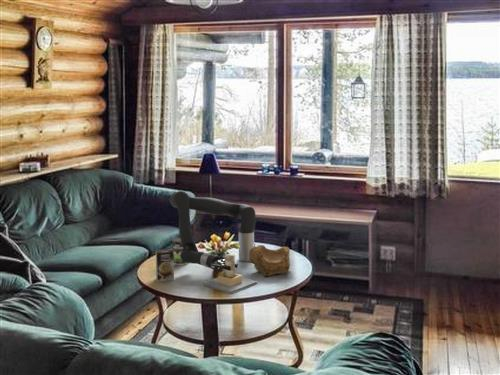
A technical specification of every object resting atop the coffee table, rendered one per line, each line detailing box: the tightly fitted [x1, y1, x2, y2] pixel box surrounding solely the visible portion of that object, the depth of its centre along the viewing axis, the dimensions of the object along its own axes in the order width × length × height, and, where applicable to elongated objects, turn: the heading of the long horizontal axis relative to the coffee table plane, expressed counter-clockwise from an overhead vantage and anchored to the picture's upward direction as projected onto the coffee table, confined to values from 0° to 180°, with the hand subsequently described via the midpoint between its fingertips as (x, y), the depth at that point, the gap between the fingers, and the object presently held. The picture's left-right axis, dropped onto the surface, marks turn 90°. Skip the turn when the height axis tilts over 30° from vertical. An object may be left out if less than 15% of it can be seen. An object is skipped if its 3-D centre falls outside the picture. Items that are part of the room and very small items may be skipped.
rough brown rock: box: [249, 244, 291, 278], centre depth 310 cm, size 23×17×15 cm
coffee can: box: [171, 236, 189, 266], centre depth 331 cm, size 10×10×14 cm
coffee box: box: [155, 248, 175, 283], centre depth 301 cm, size 9×6×16 cm
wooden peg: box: [224, 253, 236, 279], centre depth 293 cm, size 5×5×14 cm
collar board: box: [202, 273, 258, 295], centre depth 294 cm, size 20×20×5 cm
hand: (233, 267), depth 291 cm, fingers closed on wooden peg, 4 cm apart
